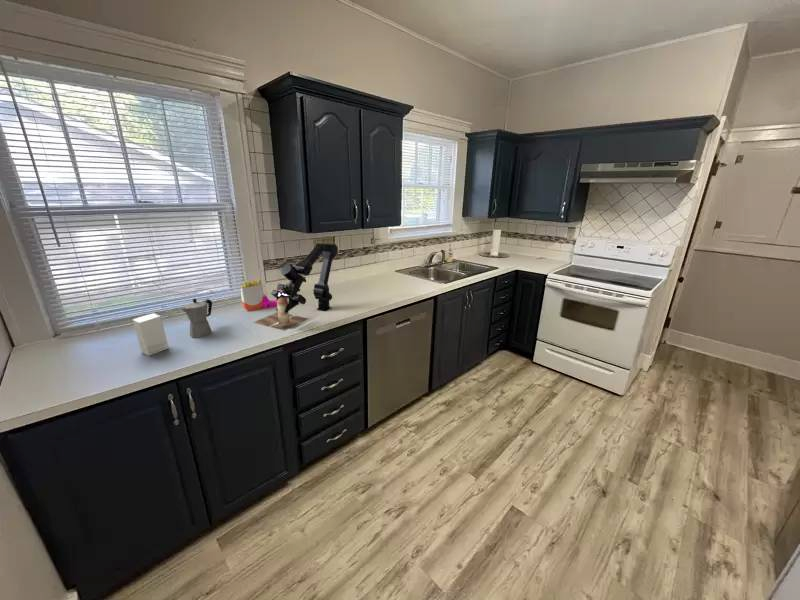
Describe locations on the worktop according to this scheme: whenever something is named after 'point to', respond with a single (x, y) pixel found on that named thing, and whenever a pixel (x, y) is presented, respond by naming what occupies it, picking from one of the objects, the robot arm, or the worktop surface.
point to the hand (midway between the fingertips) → (281, 311)
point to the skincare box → (150, 334)
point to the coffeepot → (198, 318)
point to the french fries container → (252, 295)
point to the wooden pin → (282, 311)
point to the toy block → (269, 302)
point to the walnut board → (274, 321)
